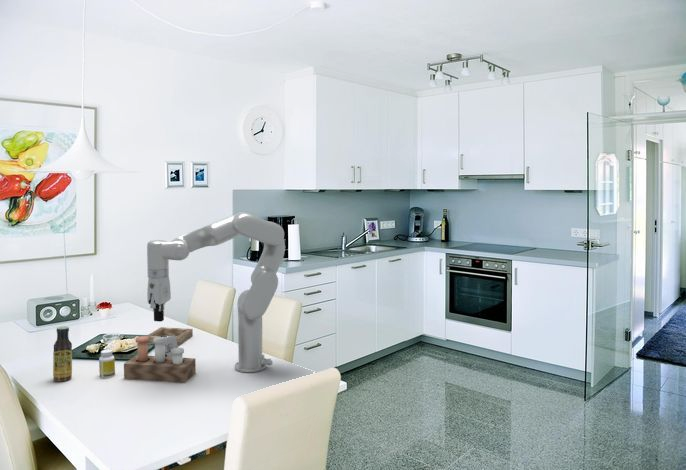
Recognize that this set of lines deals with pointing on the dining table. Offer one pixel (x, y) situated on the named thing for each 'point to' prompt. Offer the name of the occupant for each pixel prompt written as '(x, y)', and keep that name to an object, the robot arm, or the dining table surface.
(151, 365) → the block
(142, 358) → the terracotta plug
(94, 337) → the dining table surface
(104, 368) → the supplement bottle
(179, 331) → the square wooden frame
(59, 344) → the sauce bottle
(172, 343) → the electrical switch
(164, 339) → the grey plug
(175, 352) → the grey plug
